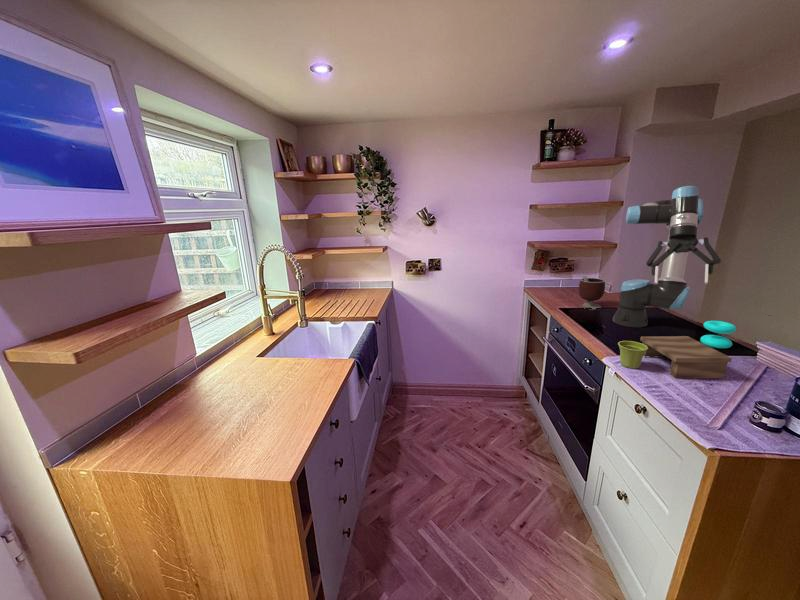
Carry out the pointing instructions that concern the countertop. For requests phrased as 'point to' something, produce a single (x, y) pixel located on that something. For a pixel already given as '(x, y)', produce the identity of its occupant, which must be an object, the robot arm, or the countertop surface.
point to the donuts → (715, 339)
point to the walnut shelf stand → (688, 356)
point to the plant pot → (631, 353)
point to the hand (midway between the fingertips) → (680, 283)
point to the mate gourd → (591, 290)
